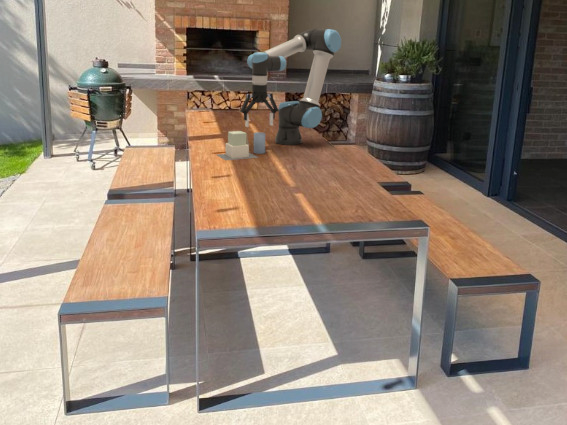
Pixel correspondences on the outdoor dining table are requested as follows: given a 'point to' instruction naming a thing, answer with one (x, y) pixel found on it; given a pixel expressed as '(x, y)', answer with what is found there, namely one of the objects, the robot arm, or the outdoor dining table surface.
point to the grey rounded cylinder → (259, 142)
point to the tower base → (237, 151)
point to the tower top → (236, 138)
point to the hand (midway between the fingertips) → (259, 126)
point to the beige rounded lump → (246, 138)
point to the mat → (235, 158)
